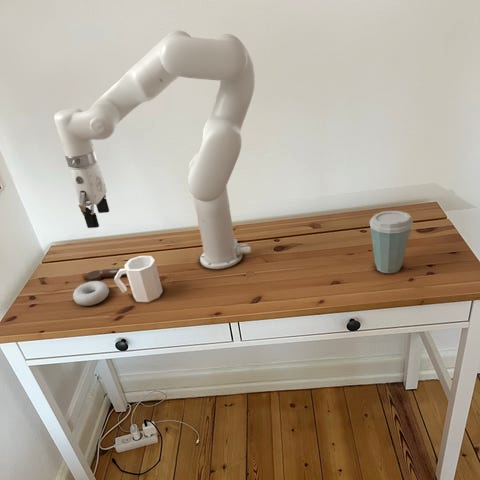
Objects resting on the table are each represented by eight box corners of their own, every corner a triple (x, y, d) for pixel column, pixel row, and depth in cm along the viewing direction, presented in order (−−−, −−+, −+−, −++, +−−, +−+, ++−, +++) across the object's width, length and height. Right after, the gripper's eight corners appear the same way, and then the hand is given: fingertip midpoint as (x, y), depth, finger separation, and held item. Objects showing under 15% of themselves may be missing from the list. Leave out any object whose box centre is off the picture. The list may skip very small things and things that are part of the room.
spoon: (142, 270, 160) (140, 263, 159) (138, 278, 157) (136, 271, 155) (90, 274, 163) (88, 267, 161) (85, 282, 159) (83, 275, 158)
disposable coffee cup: (362, 263, 147) (362, 212, 138) (398, 254, 148) (400, 203, 139) (379, 281, 138) (380, 228, 129) (418, 271, 139) (421, 218, 131)
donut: (96, 310, 145) (117, 290, 152) (92, 300, 143) (113, 280, 150) (67, 305, 149) (89, 286, 156) (63, 295, 147) (86, 276, 154)
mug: (162, 283, 152) (155, 253, 147) (162, 299, 145) (154, 268, 139) (121, 291, 152) (111, 260, 146) (118, 307, 145) (108, 276, 139)
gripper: (84, 169, 132) (102, 232, 142) (104, 147, 146) (120, 206, 156) (55, 172, 133) (75, 234, 143) (78, 149, 147) (95, 207, 157)
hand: (98, 219), depth 150 cm, fingers open, 9 cm apart
